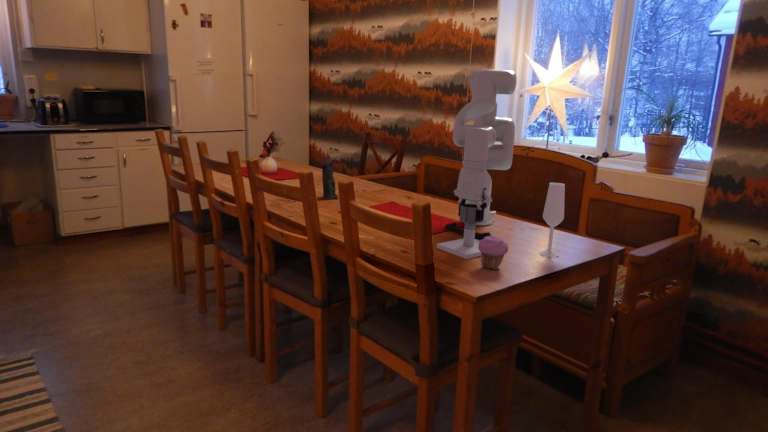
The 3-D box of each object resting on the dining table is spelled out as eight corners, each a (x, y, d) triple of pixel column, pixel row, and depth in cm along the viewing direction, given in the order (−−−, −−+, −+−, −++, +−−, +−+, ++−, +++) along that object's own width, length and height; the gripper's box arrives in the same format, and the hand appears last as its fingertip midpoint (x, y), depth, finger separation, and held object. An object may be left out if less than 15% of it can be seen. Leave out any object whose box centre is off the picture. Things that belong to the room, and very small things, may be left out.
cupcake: (472, 268, 163) (474, 236, 161) (483, 261, 170) (486, 230, 168) (499, 274, 158) (502, 242, 156) (510, 267, 165) (513, 235, 163)
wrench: (455, 231, 211) (503, 247, 185) (444, 233, 209) (491, 249, 183) (454, 218, 210) (503, 232, 184) (443, 220, 208) (491, 234, 182)
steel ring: (469, 217, 184) (471, 202, 182) (485, 221, 178) (487, 206, 177) (455, 219, 179) (456, 204, 178) (470, 224, 174) (471, 209, 173)
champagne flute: (534, 253, 180) (542, 183, 174) (546, 250, 184) (554, 181, 178) (551, 258, 175) (559, 186, 169) (563, 255, 179) (572, 184, 173)
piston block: (469, 241, 191) (471, 215, 189) (499, 251, 181) (502, 224, 178) (436, 247, 182) (438, 220, 180) (466, 259, 171) (468, 230, 169)
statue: (339, 198, 253) (340, 156, 248) (328, 200, 248) (328, 157, 243) (330, 196, 258) (330, 154, 253) (318, 198, 253) (318, 155, 248)
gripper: (447, 162, 179) (444, 214, 183) (487, 170, 165) (482, 225, 170) (463, 161, 183) (459, 211, 187) (503, 168, 170) (498, 222, 174)
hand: (470, 218), depth 178 cm, fingers closed on steel ring, 7 cm apart
